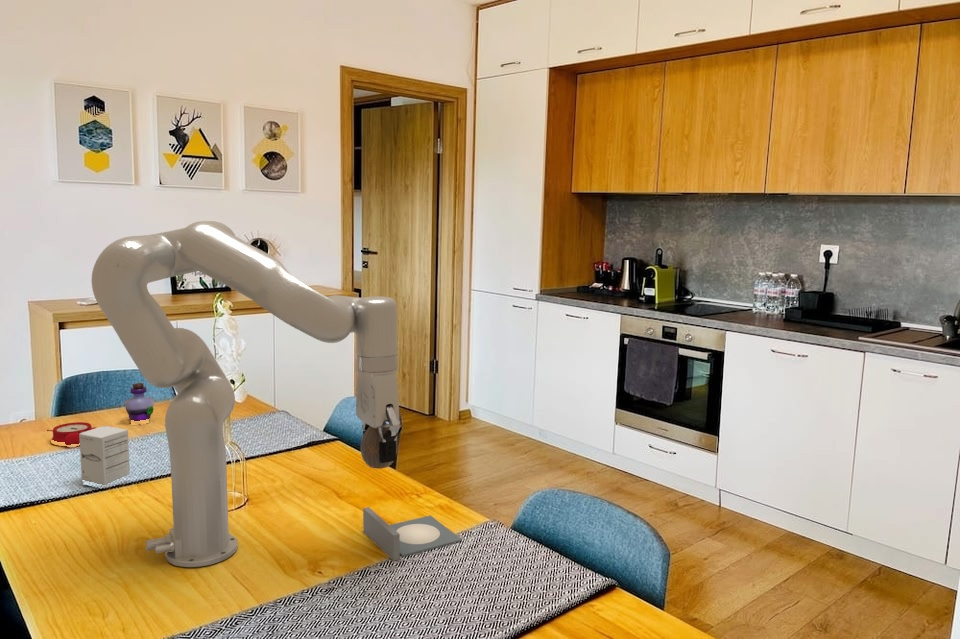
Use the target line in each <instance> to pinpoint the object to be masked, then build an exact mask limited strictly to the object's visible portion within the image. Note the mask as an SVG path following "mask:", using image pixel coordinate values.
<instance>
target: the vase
mask: <svg viewBox="0 0 960 639" xmlns="http://www.w3.org/2000/svg"><path fill="white" fill-rule="evenodd" d="M385 424H388V422H383V424H382V425H385ZM387 430H389V428H385V429H384V433H386V432H387ZM379 442H381V438H380V434H379V429H378V428H373V427H371V426H369V428H368V429H367V430H366V432H365V433H364V435H363V434H362V438H361V441H360V454H361V457H362V460H363V462H364V463H365V464H366V465H367V466H368V467H369V468H371V469H379V470H380V469H385V468H388V467H390V466H391V465H392V464H393V463H394V461H391V462H386V463H380V462H379ZM397 453H398V439H397V440H396V456H397Z"/></svg>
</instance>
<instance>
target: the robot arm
mask: <svg viewBox="0 0 960 639" xmlns="http://www.w3.org/2000/svg"><path fill="white" fill-rule="evenodd" d="M196 272H199V273H202V274H204V275H206V276H208V277H209V278H211V279H213V280H215V281H217V282H218V283H221V284H222V285H224V286H227V287H228V288H230V289H232V290H233V291H236V292H238V294H239V293H240V294H241V295H242V296H245V297H247V298H249V300H252V301H253V302H255V304H257V305H258V306H259V307H261V308H263V309H264V310H266V311H267V312H268V313H270V314H272V315H273V316H274V317H276V318H277V319H279V320H280V321H282V322H283V323H286V324H287V325H288V326H290V327H293V328H294V329H296V330H298V331H300V332H302V333H303V334H305V335H307V336H309V337H311V338H313V339H315V340H317V341H320V342H323V343H328V344H334V343H339V342H341V341H343V340H345V339H346V338H347V337H348V336H349V335H350V334H352V333H355V335H356V337H355V339H356V369H357V371H356V372H357V377H356V397H355V398H356V399H355V400H356V401H355V410H356V411H355V414H356V417H357V418H358V419H359V420H361V421H362V424H361V428H362V436H363V435H364V433H365V432H366V430H367V429H368V428H369V426H371V427H373V428H378V429H379V434H380V438H381V442H379V462H380V463H386V462H391V461H393V462H395V461H396V460H397V455H396V440H397V441H398V434H399V430H400V427H401V426H400V422H399V417H400V410H399V409H400V406H399V402H400V401H399V392H398V390H399V389H398V388H399V387H398V380H397V373H398V372H399V358H398V356H399V352H398V351H399V350H398V349H399V348H398V305H397V302H396V300H395V299H394V298H393V297H389V296H379V295H378V296H377V295H376V296H373V295H372V296H366V297H365V296H364V297H357V296H347V295H340V294H338V295H337V294H335V295H333V294H332V295H329V296H326V295H325V294H323V293H321V292H319V291H317V290H316V289H313V288H312V287H310V286H308V285H307V284H305V283H304V282H302V281H300V280H299V279H298V278H296V277H295V276H294V275H292V273H290V272H289V270H288V269H287V268H286V267H285V266H284V264H283V263H282V262H281V261H280V260H278V259H277V258H276V257H274V256H273V255H270V254H269V253H267V252H266V251H263V250H262V249H260V248H258V247H256V246H254V245H252V244H250V243H248V242H246V241H245V240H243V239H241V238H240V237H238V236H236V234H235V233H234V231H233V230H232V229H231V228H230V227H229V226H228V225H226V224H225V223H222V222H219V221H214V220H209V221H208V220H207V221H206V220H203V221H196V222H193V223H191V224H189V225H187V226H186V227H184V228H179V229H173V230H169V231H163V232H159V233H154V234H152V233H151V234H147V235H146V234H145V235H131V236H125V237H122V238H120V239H117V240H114V241H113V242H111V243H110V244H108V245H107V246H106V247H105V248H104V249H103V250H102V251H101V252H100V254H99V255H98V257H97V259H96V261H95V263H94V265H93V268H92V272H91V288H92V292H93V295H94V299H95V301H96V302H97V304H98V307H99V308H100V310H101V312H102V314H104V316H105V317H106V319H107V320H108V322H109V323H110V325H111V326H112V328H113V330H114V331H115V333H116V334H117V336H118V339H119V340H120V342H121V343H122V345H123V347H124V348H125V350H126V351H127V352H128V353H127V354H128V355H129V356H130V357H131V359H132V361H133V363H134V364H135V367H137V370H138V371H139V372H140V374H141V375H142V377H143V378H144V379H145V380H146V381H147V383H149V384H150V385H152V386H153V387H155V388H156V387H157V388H159V389H169V388H172V387H173V388H174V390H175V392H176V393H177V394H176V395H175V396H174V397H173V399H172V400H171V401H170V402H169V404H168V406H167V409H166V412H165V417H164V419H165V420H164V426H165V427H164V428H165V433H166V438H167V443H168V449H169V460H170V476H171V477H170V478H171V499H172V502H171V504H172V523H173V524H172V525H173V527H172V528H169V534H165V535H164V536H163V537H159V538H152V539H148V540H145V550H146V552H151V551H154V550H155V554H156V555H157V554H163V553H164V554H165V556H164V557H165V559H166V561H167V562H168V563H170V564H171V565H174V566H177V567H180V568H181V567H183V568H200V567H206V566H211V565H215V564H217V563H220V562H222V561H225V560H227V559H228V558H230V557H232V556H233V555H234V554H235V552H236V551H237V549H238V548H239V546H238V539H237V538H236V536H234V535H233V534H231V533H230V531H229V504H228V501H229V498H228V497H229V496H228V469H227V468H228V467H227V451H226V445H225V437H224V423H225V421H226V420H227V419H228V418H229V416H230V415H231V414H232V412H233V410H234V407H235V404H236V397H235V396H236V395H235V392H234V389H233V387H232V385H231V383H230V381H229V380H228V377H227V375H225V372H224V371H223V369H222V368H221V366H220V364H219V363H218V361H217V360H216V358H215V356H214V355H213V353H212V351H211V350H210V348H209V347H208V345H207V343H206V342H205V341H204V340H203V338H202V337H201V336H200V335H198V334H197V333H196V332H194V331H192V330H191V329H187V328H185V327H184V328H183V327H174V325H173V324H172V322H171V321H170V319H169V318H168V316H167V315H166V313H165V311H164V309H163V308H162V306H161V304H160V303H158V302H157V300H156V299H155V298H154V297H153V296H152V295H151V292H149V289H148V284H150V283H153V282H156V281H162V280H165V279H169V278H172V277H177V276H183V275H185V274H186V275H187V274H191V273H196ZM383 422H386V423H387V424H385V425H382V424H383ZM385 428H389V430H387V432H386V433H384V429H385Z"/></svg>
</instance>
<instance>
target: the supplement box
mask: <svg viewBox="0 0 960 639" xmlns="http://www.w3.org/2000/svg"><path fill="white" fill-rule="evenodd" d="M79 437H80V446H79V453H80V468H81V469H80V471H81V481H82V480H85V481H89V482H94V483H97V484H102V485H106V484H108V483H111V482H113V481H115V480H117V479H120V478H122V477H124V476H127V475H129V474H130V475H131V472H130V470H131V468H130V450H129V429H124V428H120V427H115V426H114V427H113V426H108V425H102V426H99V427H96V428H95V429H92V430H89V431H86V432H82V433H80V434H79Z"/></svg>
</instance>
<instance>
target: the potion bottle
mask: <svg viewBox="0 0 960 639" xmlns="http://www.w3.org/2000/svg"><path fill="white" fill-rule="evenodd" d="M145 393H148V392H147V387H146V386H145V385H144V383H143V382H137V383H133V384H132V387H131V388H130V394H132V395H133V397H130V398H127V399H125V400H123V404H124V407H125V410H126V411H125V412H126V413H127V416H128V417H129V421H130V420H134V421H140V420H146V419H149V418H150V419H151V416H152V414H153V413H154V405H155V399H154V397H151V396H150V397H149V396H145Z"/></svg>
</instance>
